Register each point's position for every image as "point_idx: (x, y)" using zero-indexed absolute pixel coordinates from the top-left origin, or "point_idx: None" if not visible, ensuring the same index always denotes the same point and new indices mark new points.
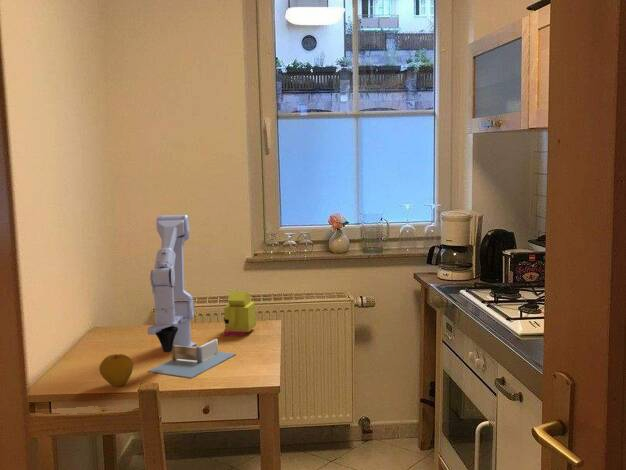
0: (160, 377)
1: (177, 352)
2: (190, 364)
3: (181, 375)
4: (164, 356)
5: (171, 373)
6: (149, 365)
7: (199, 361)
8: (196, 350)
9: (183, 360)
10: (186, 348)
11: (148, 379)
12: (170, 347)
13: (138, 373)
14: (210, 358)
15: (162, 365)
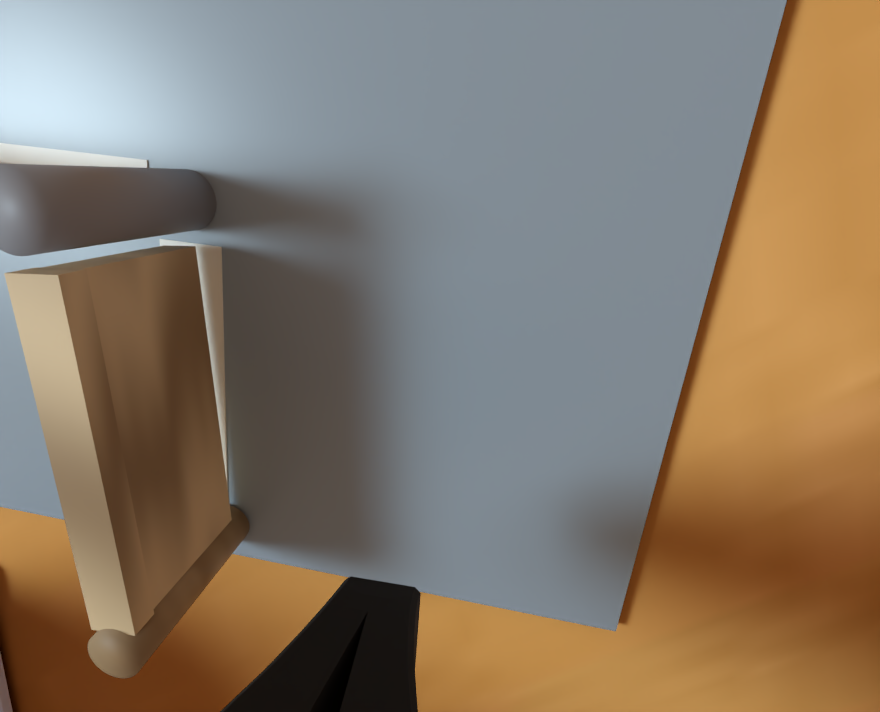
0: (784, 414)
1: (181, 534)
2: (297, 272)
3: (732, 154)
4: (167, 651)
5: (663, 338)
6: (428, 677)
7: (198, 185)
8: (67, 265)
9: None
10: (111, 432)
11: (870, 514)
12: (375, 633)
13: (675, 683)
14: (21, 136)
15: (421, 561)
